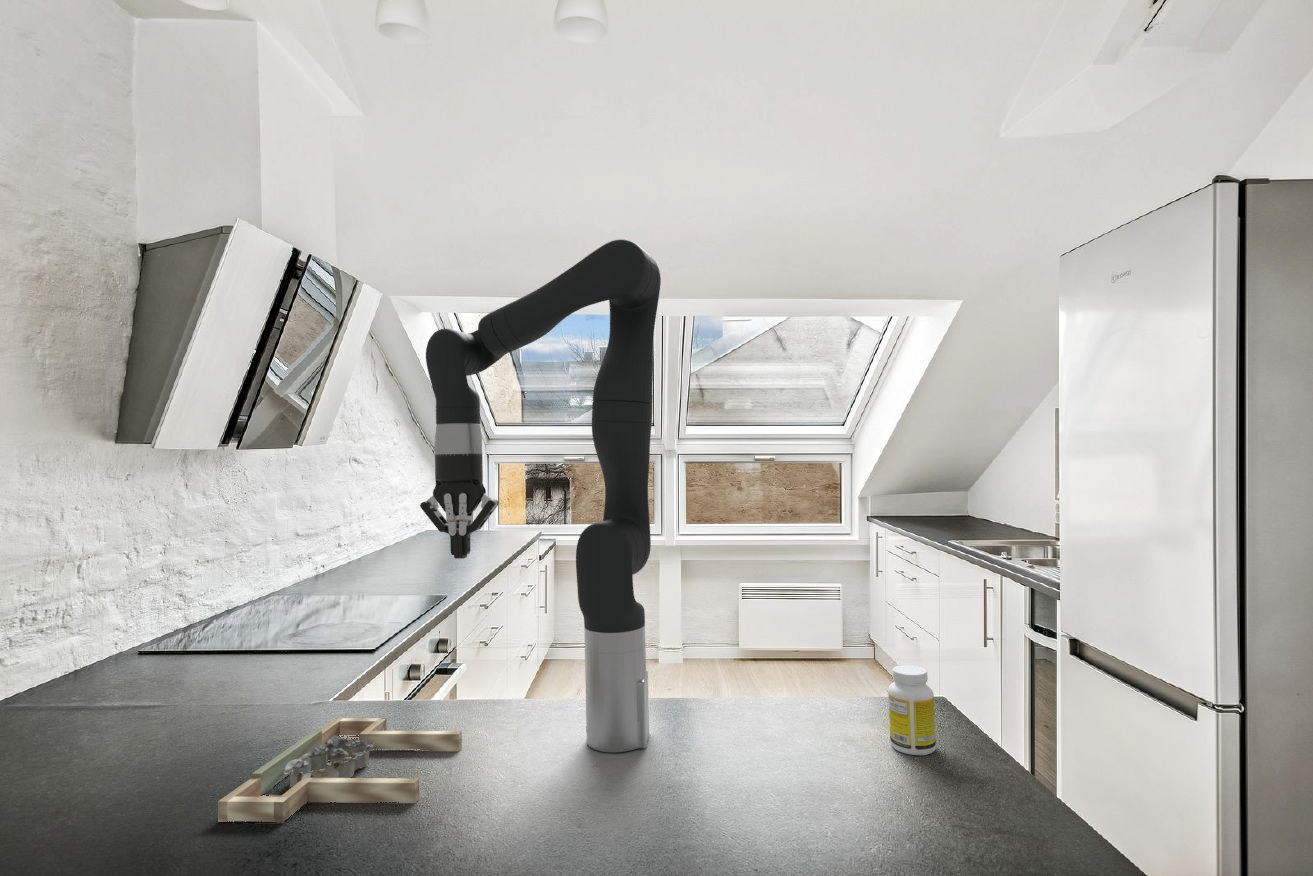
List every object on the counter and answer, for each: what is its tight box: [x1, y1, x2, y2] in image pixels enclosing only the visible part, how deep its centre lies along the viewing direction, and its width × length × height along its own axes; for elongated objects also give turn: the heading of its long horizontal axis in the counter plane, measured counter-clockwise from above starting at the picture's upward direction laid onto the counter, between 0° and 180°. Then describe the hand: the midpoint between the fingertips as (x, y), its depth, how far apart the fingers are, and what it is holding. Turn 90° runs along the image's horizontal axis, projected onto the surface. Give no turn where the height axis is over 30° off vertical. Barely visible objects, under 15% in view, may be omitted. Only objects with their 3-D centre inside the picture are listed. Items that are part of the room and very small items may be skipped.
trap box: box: [217, 717, 463, 824], centre depth 94 cm, size 22×26×3 cm
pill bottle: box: [887, 665, 937, 756], centre depth 98 cm, size 6×6×11 cm
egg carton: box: [284, 735, 375, 789], centre depth 94 cm, size 11×8×4 cm
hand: (460, 557), depth 111 cm, fingers closed
